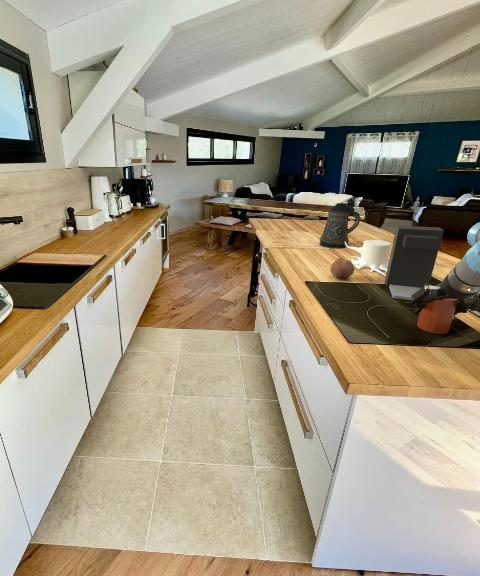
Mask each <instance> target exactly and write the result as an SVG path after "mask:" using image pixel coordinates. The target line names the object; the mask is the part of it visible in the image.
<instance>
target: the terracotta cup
mask: <svg viewBox="0 0 480 576" xmlns="http://www.w3.org/2000/svg"><path fill="white" fill-rule="evenodd" d="M458 302H459V301H458V299H452V298H446V299H443V300H435V301H432V302H430V303H427V304H424V308H423V309H422V310H421V311H420V312H419V313H418V317H417V321H416V326H417V327H418V328H419V329H420V330H423V331H425V332H427V333H431V334H436V335H445V334H448V333H449V331H450V329H451V327H452V323H453V320H454V317H455V316H454V314H455V311H456V307H457V304H458Z"/></svg>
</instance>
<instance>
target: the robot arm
mask: <svg viewBox="0 0 480 576" xmlns="http://www.w3.org/2000/svg"><path fill="white" fill-rule="evenodd" d="M466 239H467V243H468V244H469V246H471V247H470V248H469V249H468V250H467V251H466V252H465V254H464V255H463V257H462V258H461V260H459V261H458V262H457V263H456V265H455V266H454V267H452V269H451V270H450V271H449V272H448V274H447V275H445V276H444V277H443V279H442V281H441V282H440V283H438V284H436V285H431V283H425V284H424V287H422V288H421V289H420V290H418V291H417V292H415V293H414V294H413V295H411V300H410V304H412V305H413V307H414V314H415V315H417V314H418V315H419V313H420V311H421V310H422V309H423V308H424V304H427V303H430V302H432V301H435V300H443V299H446V298H452V299H458V304H457V307H456V311H455V314H454V317H455V316H457V315H458V314H467V313H468V310H469V311H470V312H475V311H477V309H478V308H479V307H480V221H479V222H477V223H475V224H474V225H473V226H471V228H469V230H468V232H467V236H466ZM469 299H471V300H470V301H469V302H467V300H469Z"/></svg>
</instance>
